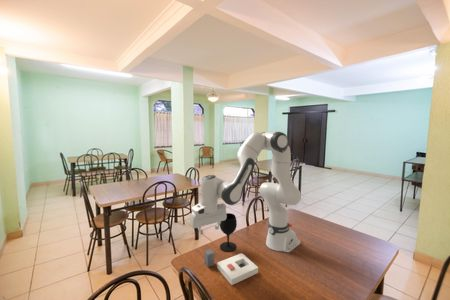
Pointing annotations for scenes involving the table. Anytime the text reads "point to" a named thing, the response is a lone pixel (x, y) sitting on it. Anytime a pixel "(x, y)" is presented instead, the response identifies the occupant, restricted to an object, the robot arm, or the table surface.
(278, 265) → the table surface
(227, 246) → the wine glass
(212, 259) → the plug
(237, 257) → the socket plate
